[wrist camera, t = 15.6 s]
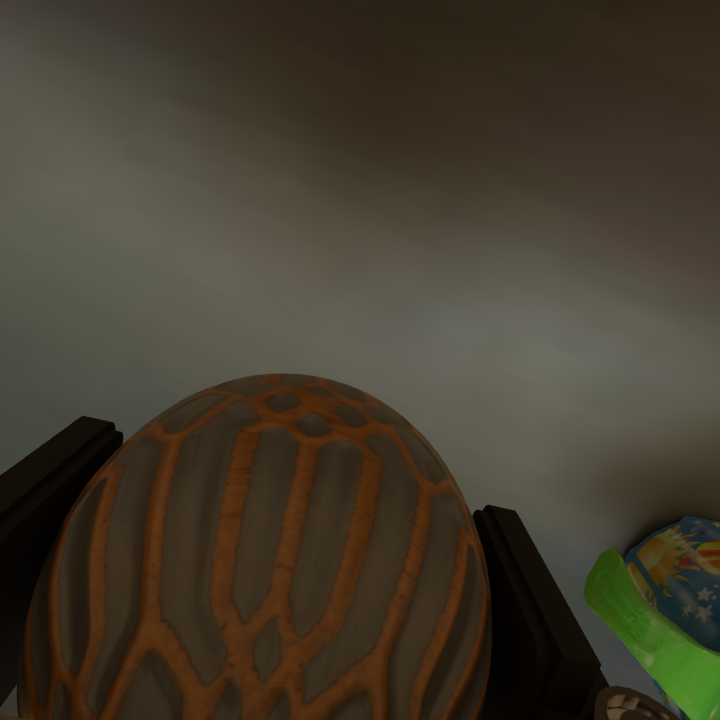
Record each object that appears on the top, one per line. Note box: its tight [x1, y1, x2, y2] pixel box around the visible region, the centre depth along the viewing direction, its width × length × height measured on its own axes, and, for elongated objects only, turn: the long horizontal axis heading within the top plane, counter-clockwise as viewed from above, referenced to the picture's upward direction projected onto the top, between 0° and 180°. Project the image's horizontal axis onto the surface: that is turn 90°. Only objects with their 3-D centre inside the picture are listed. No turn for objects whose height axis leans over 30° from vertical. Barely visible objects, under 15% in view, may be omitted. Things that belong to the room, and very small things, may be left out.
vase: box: [17, 374, 492, 720], centre depth 8 cm, size 7×7×9 cm
